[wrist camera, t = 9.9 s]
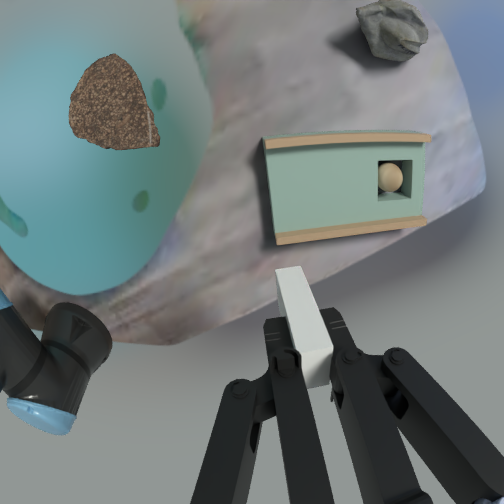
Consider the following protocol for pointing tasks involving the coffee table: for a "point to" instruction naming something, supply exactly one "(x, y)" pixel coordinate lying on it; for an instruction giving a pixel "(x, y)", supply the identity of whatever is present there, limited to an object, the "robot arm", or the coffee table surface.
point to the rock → (112, 107)
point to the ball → (389, 177)
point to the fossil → (392, 29)
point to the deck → (342, 183)
